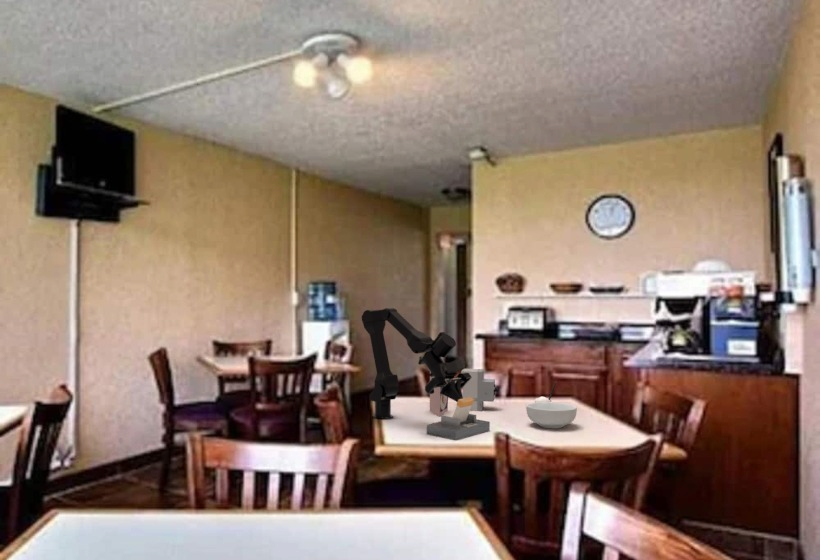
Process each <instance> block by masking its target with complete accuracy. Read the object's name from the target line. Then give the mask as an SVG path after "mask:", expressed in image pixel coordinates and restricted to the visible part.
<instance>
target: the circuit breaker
mask: <svg viewBox="0 0 820 560" xmlns="http://www.w3.org/2000/svg"><path fill="white" fill-rule="evenodd" d="M460 371H461V372H460V373H465V372H466V373H469V374H470V375H471V377H472V378H471V379H470V380H469V381H468V382H467V383H466V385H465V386H464V387H463V388H462V396H463V398H467V397H471V398H472V399H474V402H473V405H472V406H471V409H470V411H473V412H482V411H483V409H484V404H485V403H484V402H486V403H487V402H488V403H489V402H492V403H493V402H495V401H494V400H495V399H496V393H498V392H499V391H500V388H499V387H496V379H495V378H485V375H484V373H485V372H484V371H485V370H484V368H465V369H463V370H460ZM470 411H469V412H470Z"/></svg>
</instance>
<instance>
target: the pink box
mask: <svg viewBox="0 0 820 560" xmlns="http://www.w3.org/2000/svg"><path fill="white" fill-rule="evenodd" d="M430 373H431V372H430V371H429V374H430ZM432 378H434V377H431V376H430V375H429V381H430V380H431V379H432ZM441 391H442V390H441V387H438V388H434V393H433V394H429V412H431V413H432V414H433V415H436V416H437V417H438V418H441V416H444V414H446V413H447V412H448V411H449V407H448V406H449V404H448V403H449V397H447V396H445V395H443V394H440V392H441Z"/></svg>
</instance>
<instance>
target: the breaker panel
mask: <svg viewBox="0 0 820 560" xmlns="http://www.w3.org/2000/svg"><path fill="white" fill-rule="evenodd" d="M490 427H491V423H490V421H487V420H482V419H477V414H474V413H473V414H472V413H469V414H468V417H467V419H466V421H463V422H460V419H458V418H453V416H447V415H446V416H445V415H441V416H440V421H437V422H433V423H428V424H426V435H430V436H433V437H439V438H445V439H449V440H454V441H457V440H461V439H465V438H468V437H472V436H475V435H479V434H483V433H485V432H489V431H491V430H490Z"/></svg>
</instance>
